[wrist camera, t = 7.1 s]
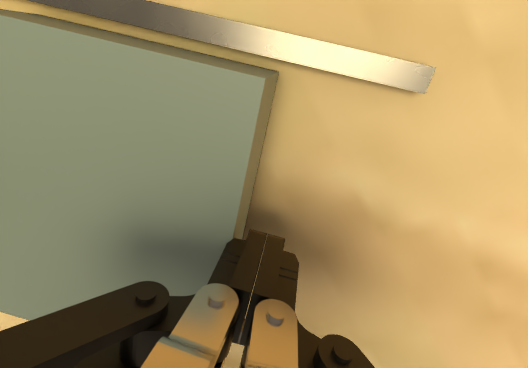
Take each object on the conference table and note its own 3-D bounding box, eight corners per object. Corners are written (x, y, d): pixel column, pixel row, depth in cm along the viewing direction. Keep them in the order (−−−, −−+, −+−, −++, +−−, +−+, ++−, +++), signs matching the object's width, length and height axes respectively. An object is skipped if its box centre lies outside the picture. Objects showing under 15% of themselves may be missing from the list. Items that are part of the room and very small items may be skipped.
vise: (427, 66, 13) (488, 73, 8) (314, 351, 20) (313, 441, 15) (-220, -84, 15) (-464, -146, 10) (-119, 227, 21) (-237, 274, 17)
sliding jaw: (278, 71, 14) (265, 78, 10) (226, 311, 19) (205, 372, 16) (40, 14, 14) (-56, 1, 11) (56, 263, 20) (-3, 310, 16)
